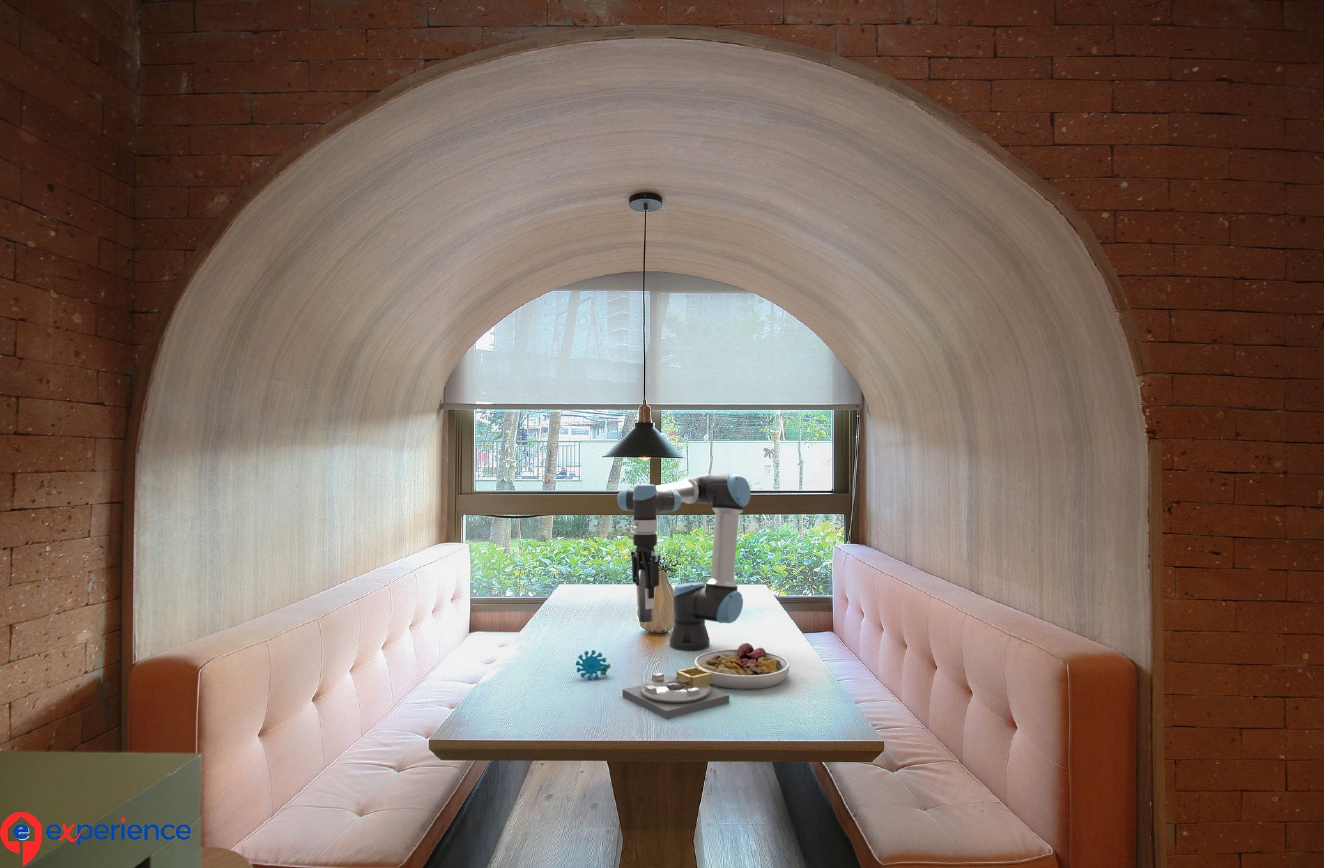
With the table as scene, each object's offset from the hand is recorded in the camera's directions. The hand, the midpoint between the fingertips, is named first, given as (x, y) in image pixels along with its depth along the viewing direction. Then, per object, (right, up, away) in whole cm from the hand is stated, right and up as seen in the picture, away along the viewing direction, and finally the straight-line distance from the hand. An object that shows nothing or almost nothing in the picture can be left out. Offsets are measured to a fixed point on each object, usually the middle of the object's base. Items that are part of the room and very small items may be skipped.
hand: (645, 607), depth 215 cm
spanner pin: (0, -4, 0) cm, 4 cm away
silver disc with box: (+9, -19, -19) cm, 29 cm away
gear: (-17, -23, +2) cm, 29 cm away
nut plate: (+9, -22, -19) cm, 30 cm away
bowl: (+31, -23, +2) cm, 39 cm away
